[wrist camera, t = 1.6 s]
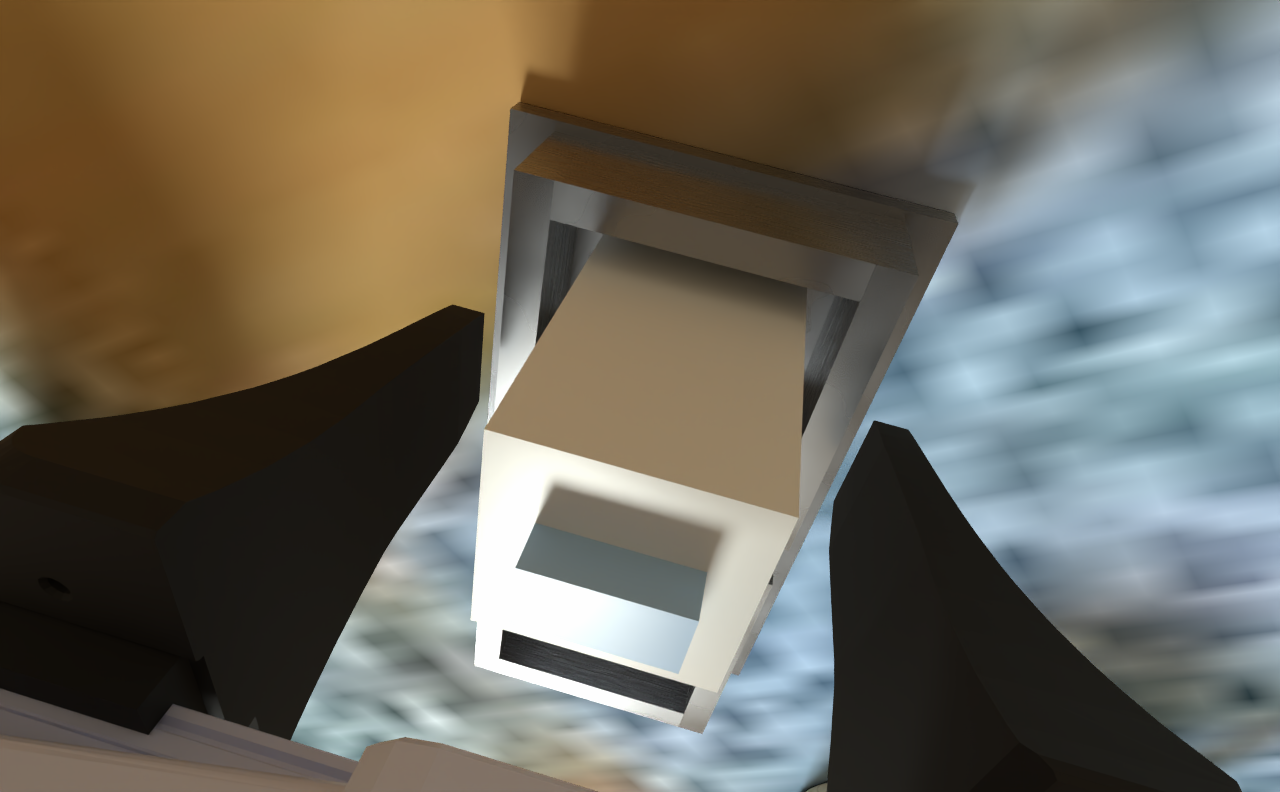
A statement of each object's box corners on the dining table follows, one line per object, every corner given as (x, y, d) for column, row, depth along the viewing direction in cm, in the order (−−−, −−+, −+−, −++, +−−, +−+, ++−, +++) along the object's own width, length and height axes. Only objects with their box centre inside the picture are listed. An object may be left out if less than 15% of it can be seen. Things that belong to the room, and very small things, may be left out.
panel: (739, 661, 23) (731, 746, 21) (480, 585, 23) (444, 660, 21) (954, 213, 14) (980, 279, 11) (519, 101, 14) (462, 143, 12)
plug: (751, 421, 17) (710, 742, 11) (586, 375, 17) (449, 663, 11) (808, 268, 14) (796, 568, 8) (613, 217, 15) (458, 471, 8)
